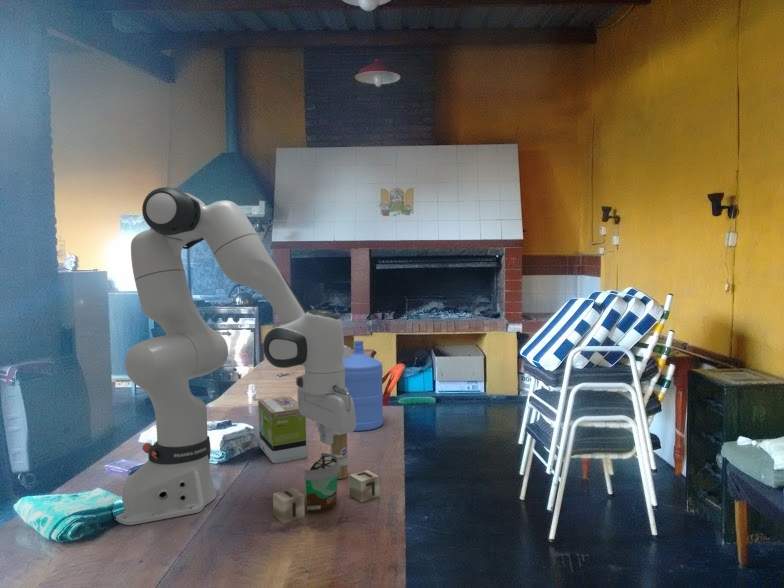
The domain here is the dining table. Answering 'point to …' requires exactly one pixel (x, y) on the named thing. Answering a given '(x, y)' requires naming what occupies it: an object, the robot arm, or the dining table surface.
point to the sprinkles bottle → (340, 452)
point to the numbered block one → (288, 505)
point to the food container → (322, 484)
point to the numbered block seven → (364, 485)
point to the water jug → (364, 388)
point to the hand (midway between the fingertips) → (326, 443)
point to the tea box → (282, 429)
